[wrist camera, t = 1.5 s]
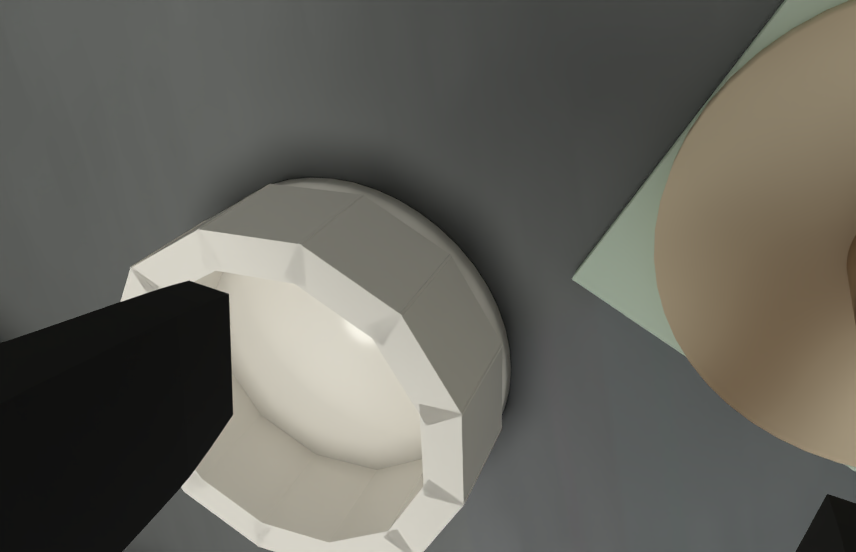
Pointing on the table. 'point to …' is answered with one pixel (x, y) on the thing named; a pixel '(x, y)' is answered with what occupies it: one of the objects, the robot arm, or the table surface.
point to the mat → (635, 226)
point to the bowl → (342, 367)
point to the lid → (772, 238)
